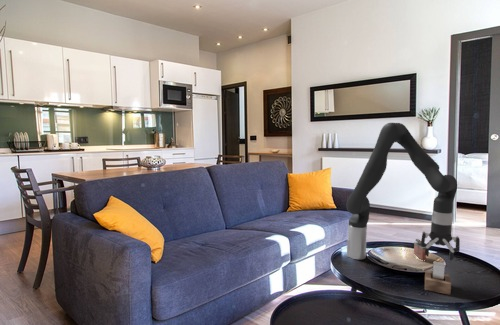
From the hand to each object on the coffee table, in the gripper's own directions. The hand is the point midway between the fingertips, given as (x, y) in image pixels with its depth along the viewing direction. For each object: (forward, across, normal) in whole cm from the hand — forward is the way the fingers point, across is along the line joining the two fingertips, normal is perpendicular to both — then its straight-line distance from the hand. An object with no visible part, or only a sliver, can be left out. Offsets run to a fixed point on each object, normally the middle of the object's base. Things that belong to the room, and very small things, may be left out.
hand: (438, 257), depth 140 cm
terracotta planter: (+14, -7, +30) cm, 34 cm away
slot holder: (+14, 0, 0) cm, 14 cm away
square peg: (+13, 0, 0) cm, 13 cm away
